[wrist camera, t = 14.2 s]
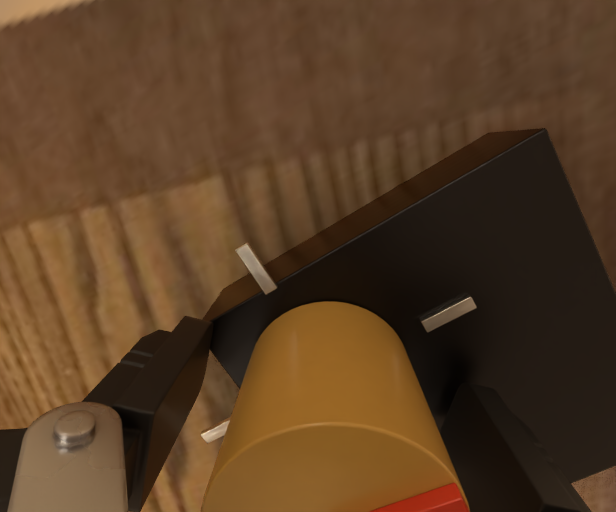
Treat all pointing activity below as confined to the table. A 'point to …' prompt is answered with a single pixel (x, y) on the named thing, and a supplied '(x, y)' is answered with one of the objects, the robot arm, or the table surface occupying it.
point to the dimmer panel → (464, 292)
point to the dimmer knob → (332, 423)
